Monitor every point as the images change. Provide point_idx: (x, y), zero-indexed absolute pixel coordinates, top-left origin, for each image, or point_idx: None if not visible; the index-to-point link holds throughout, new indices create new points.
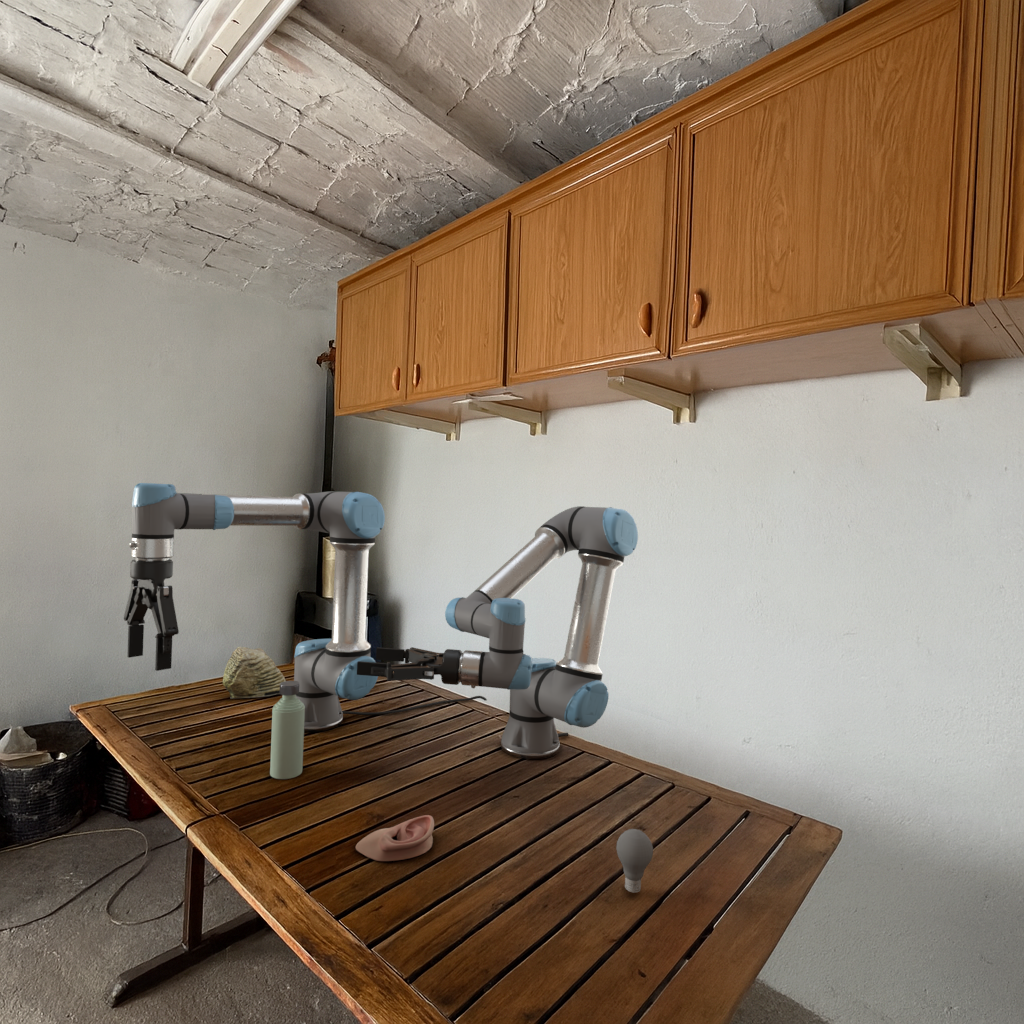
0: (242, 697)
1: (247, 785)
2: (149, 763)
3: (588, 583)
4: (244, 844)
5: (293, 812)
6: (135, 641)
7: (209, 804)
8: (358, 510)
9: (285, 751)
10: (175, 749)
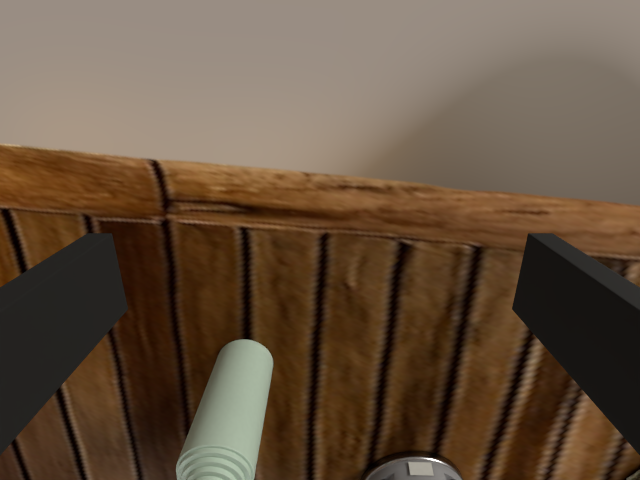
0: (637, 472)
1: (241, 298)
2: (476, 220)
3: None
4: (30, 196)
5: None
6: (587, 326)
7: (212, 221)
8: None
9: (208, 384)
10: (501, 282)
